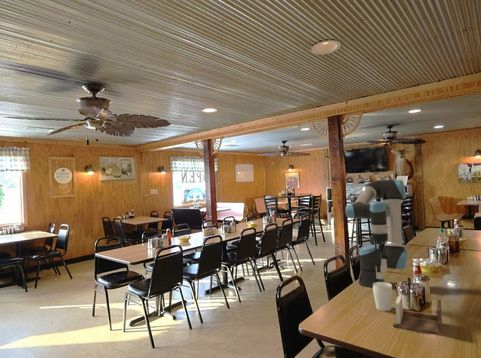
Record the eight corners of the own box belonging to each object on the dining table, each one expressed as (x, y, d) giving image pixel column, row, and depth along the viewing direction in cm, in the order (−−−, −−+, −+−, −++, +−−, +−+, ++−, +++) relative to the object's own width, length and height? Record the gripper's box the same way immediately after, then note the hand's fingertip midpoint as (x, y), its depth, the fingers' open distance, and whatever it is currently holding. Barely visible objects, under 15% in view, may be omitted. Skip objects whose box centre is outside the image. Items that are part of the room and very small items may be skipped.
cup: (377, 304, 169) (375, 280, 169) (395, 307, 163) (394, 283, 164) (371, 309, 162) (370, 285, 162) (390, 313, 156) (389, 288, 157)
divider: (396, 323, 143) (395, 302, 143) (399, 314, 151) (398, 295, 152) (400, 324, 142) (399, 303, 142) (403, 315, 151) (402, 295, 151)
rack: (393, 326, 143) (391, 303, 143) (397, 315, 154) (396, 294, 154) (441, 335, 133) (440, 310, 133) (442, 323, 144) (440, 299, 144)
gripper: (383, 237, 151) (385, 283, 150) (391, 229, 172) (393, 269, 171) (366, 236, 155) (368, 281, 154) (376, 228, 176) (378, 268, 175)
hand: (381, 275), depth 163 cm, fingers open, 13 cm apart
